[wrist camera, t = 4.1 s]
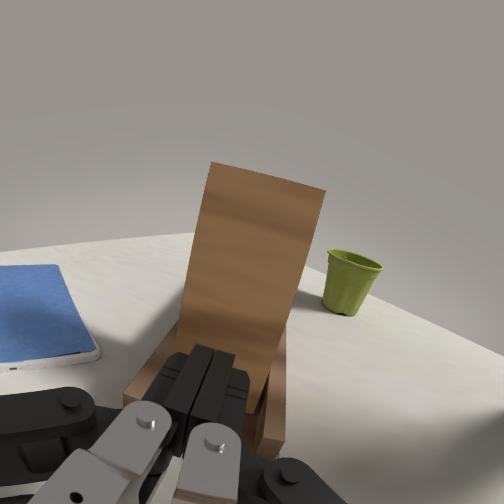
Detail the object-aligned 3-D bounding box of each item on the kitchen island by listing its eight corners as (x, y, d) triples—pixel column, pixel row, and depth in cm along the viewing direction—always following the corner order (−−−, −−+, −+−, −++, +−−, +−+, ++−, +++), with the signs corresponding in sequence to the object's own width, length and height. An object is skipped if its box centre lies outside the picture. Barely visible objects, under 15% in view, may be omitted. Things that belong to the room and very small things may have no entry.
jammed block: (253, 414, 18) (325, 190, 14) (168, 390, 18) (211, 161, 14) (259, 367, 24) (313, 190, 20) (192, 348, 24) (231, 168, 20)
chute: (273, 473, 14) (291, 442, 13) (119, 426, 14) (116, 390, 14) (281, 300, 43) (287, 278, 42) (216, 282, 44) (221, 260, 43)
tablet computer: (104, 364, 20) (104, 351, 20) (-33, 380, 11) (-37, 366, 11) (60, 272, 33) (60, 263, 32) (-23, 274, 23) (-24, 264, 23)
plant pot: (347, 326, 39) (368, 269, 37) (300, 298, 46) (316, 246, 44) (373, 316, 45) (392, 268, 43) (331, 293, 52) (346, 248, 50)
